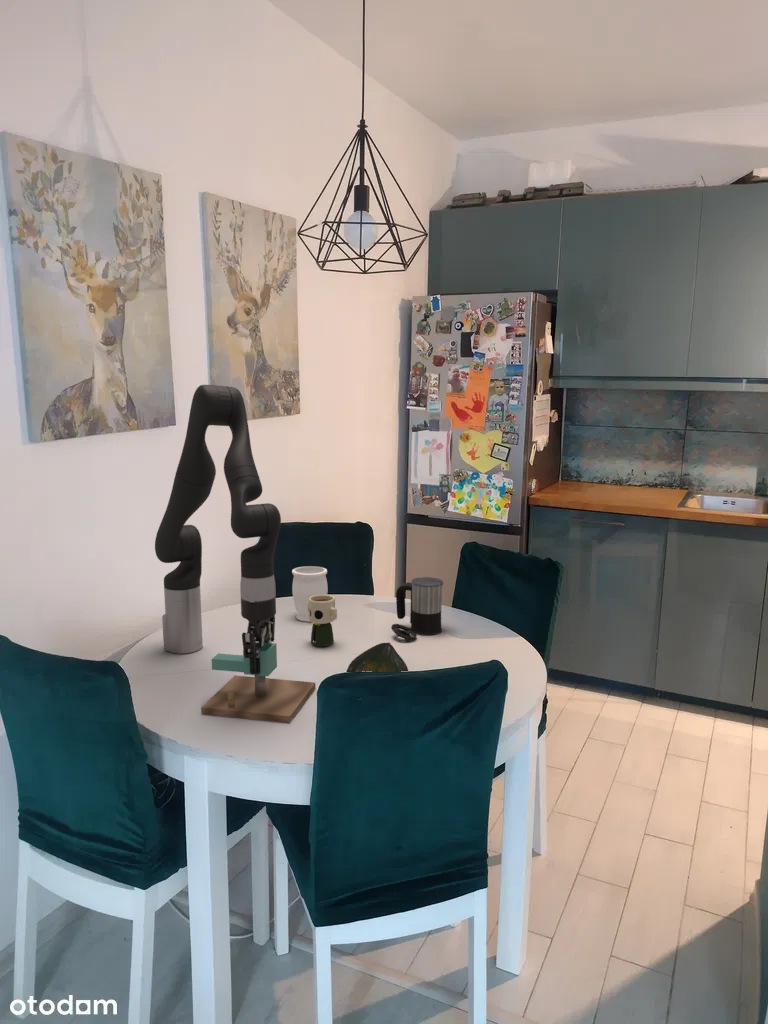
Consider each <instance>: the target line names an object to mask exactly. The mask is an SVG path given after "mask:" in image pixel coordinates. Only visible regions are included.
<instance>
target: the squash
mask: <svg viewBox="0 0 768 1024" xmlns="http://www.w3.org/2000/svg"><path fill="white" fill-rule="evenodd" d="M362 671H365V672H366V671H372V672H401V671H409V668H408V666H407V663H406V662H405V660H404V659H403V657H401V655H399V653H398V652H397V650H396V649H395V647H394V646H393V645H392V644H391V642H381V643H378V644H376V645H374V646H372V647H369V648H368V649H366V650H364V651H363V652H362V653H360V654H359V655H357V656H356V657H354V659H352V660H351V662H350V663H349V665H348V666H347V669H346V672H362Z"/></svg>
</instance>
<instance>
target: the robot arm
mask: <svg viewBox="0 0 768 1024" xmlns="http://www.w3.org/2000/svg"><path fill="white" fill-rule="evenodd" d="M209 426H216V427H221V426H222V427H229V429H230V432H231V441H230V445H229V447H228V450H227V452H226V455H225V456H224V460H223V473H224V477H225V480H226V483H227V487H228V491H229V495H230V506H231V507H230V512H231V513H230V528H231V530H232V532H233V534H234V535H235V536H237V538H240V539H251V538H259V540H258V541H257V543H255V544H254V545H252V546H249V547H247V548H245V549H243V550H241V553H240V584H239V585H240V591H239V592H240V615H241V617H242V618H243V619H246V621H248V625H247V628H246V629H247V630H246V632H242V634H241V638H242V639H241V642H242V648H243V649H242V651H243V650H244V657H245V658H249V661H250V673H251V674H256V675H258V674H259V673H260V651H261V648H262V647H263V645H264V643H272V642H273V643H274V641H275V633H276V632H275V627H276V614H277V604H276V603H277V602H276V601H277V597H276V595H277V594H276V593H277V592H276V580H275V572H274V571H275V566H274V557H275V556H274V555H275V551H276V550H275V549H276V545H277V541H278V536H279V532H280V529H281V525H282V516H281V513H280V510H279V508H278V507H277V506H276V505H275V504H273V503H271V502H270V503H269V502H268V503H257V504H247V503H251V502H253V501H255V500H257V499H258V498H260V497H261V495H262V494H263V485H262V483H261V479H260V475H259V472H258V470H257V466H256V463H255V460H254V459H255V458H254V456H253V452H252V451H253V450H252V444H251V436H250V430H249V422H248V416H247V412H246V403H245V401H244V398H243V395H242V393H241V391H240V390H239V389H238V388H236V387H233V386H228V385H218V384H217V385H216V384H201V385H199V386H198V387H196V388H195V390H194V393H193V396H192V400H191V405H190V410H189V417H188V423H187V428H186V434H185V439H184V443H183V447H182V451H181V454H180V458H179V460H178V461H179V462H178V464H177V467H176V472H175V474H174V475H175V476H174V479H173V484H172V487H171V488H172V489H171V493H170V495H169V499H168V502H167V506H166V509H165V512H164V514H163V517H162V519H161V522H160V523H159V527H158V529H157V532H156V536H155V541H154V552H155V556H156V558H157V559H158V560H159V561H160V562H161V563H164V564H165V563H166V564H173V563H179V562H180V563H179V564H178V565H177V566H176V567H175V568H174V569H173V570H172V571H169V572H167V574H166V575H165V576H164V578H163V592H164V593H163V594H164V596H163V597H164V609H165V610H164V612H165V613H164V614H162V618H161V619H162V639H163V641H162V642H163V651H167V652H170V653H172V654H183V655H184V654H191V653H194V652H197V651H199V650H201V649H202V648H203V645H204V644H203V621H202V599H201V598H202V597H201V596H202V595H201V577H202V571H203V570H202V563H203V562H202V561H203V559H202V556H203V551H202V550H203V547H202V546H203V545H202V544H203V543H202V536H201V533H200V531H199V529H198V527H197V526H196V525H194V524H186V522H187V521H188V520H189V519H190V518H191V516H193V515H194V514H195V512H196V511H198V509H199V508H200V507H202V506H203V504H204V503H205V502H206V501H207V499H208V498H209V497H210V495H211V492H212V490H213V485H214V482H215V479H216V475H217V470H216V465H215V462H214V459H213V457H212V454H211V453H210V450H209V448H208V445H207V443H206V434H207V431H208V430H207V429H208V427H209ZM256 642H259V643H256ZM256 647H257V651H256Z"/></svg>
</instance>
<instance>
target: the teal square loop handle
mask: <svg viewBox="0 0 768 1024" xmlns="http://www.w3.org/2000/svg"><path fill="white" fill-rule="evenodd" d="M256 643H259V642H256ZM277 649H278V648H277V642H275V643H274V642H273V643H272V642H271V643H264V645H263V647H262V648H261V651H260V673H259V674H258V675H259V676H266V677H269V676H270V675H271V674H272V673H273V672H274V671H275V670H276V669H277V668H278V658H277V657H278V656H277V655H278V653H277ZM256 651H257V647H256ZM211 670H213V671H224V672H225V671H226V672H238V673H243V675H246V676H248V675H249V676H251V675H252V676H255V675H256V674H251V673H250V661H249V658H245V657H244V650H243V649H242V654H231V653H217V654H215V656H213V657H212V658H211Z"/></svg>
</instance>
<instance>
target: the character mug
mask: <svg viewBox="0 0 768 1024" xmlns="http://www.w3.org/2000/svg"><path fill="white" fill-rule="evenodd" d="M308 612H309V620H310V621H311V622H310V623H312V628H311V634H310V635H311V636H310V643H311V645H313V644H314V643H315V644H314V646H318V647H324V646H329V645H330V644H332V643H334V631H333V625H332V622H335V621H336V620H337V617H338V610H337V608H336V598H335V596H334V595H330V594H327V595H314V596H311V597H310V598H309V601H308Z"/></svg>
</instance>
